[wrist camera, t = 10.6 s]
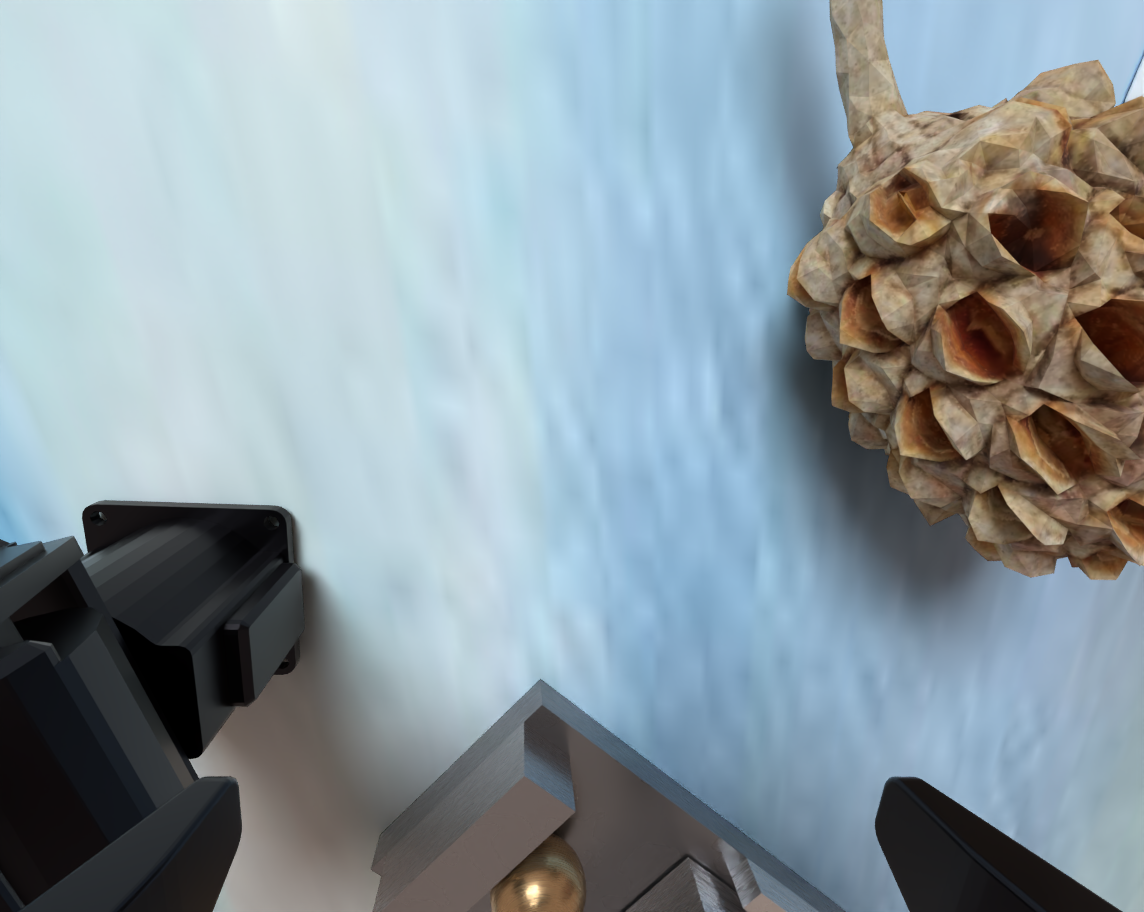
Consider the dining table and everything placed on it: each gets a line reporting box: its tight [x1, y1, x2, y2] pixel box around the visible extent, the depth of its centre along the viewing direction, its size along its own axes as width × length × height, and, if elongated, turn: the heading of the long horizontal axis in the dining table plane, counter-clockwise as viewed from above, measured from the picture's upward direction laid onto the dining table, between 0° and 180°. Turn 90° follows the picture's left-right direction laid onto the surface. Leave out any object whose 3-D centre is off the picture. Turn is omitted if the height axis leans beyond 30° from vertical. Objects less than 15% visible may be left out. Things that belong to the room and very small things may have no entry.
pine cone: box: [787, 0, 1144, 580], centre depth 14 cm, size 22×10×10 cm, turn 32°
